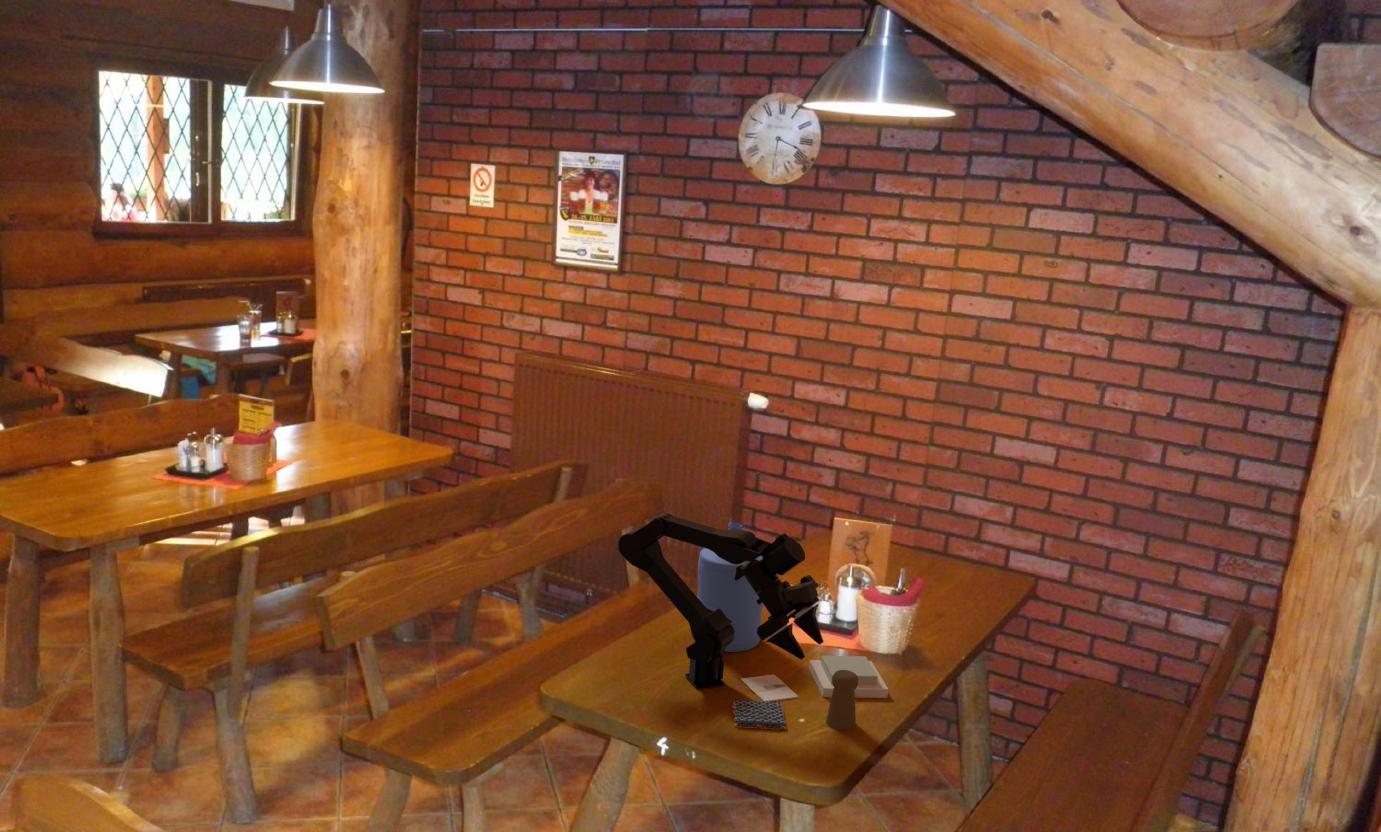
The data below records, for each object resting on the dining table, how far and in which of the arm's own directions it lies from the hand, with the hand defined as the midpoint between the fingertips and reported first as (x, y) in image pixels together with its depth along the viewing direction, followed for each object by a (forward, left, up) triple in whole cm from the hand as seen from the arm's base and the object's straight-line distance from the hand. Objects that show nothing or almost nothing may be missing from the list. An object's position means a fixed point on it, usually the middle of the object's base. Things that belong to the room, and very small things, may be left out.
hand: (812, 650), depth 237 cm
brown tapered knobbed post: (+4, -6, -14) cm, 16 cm away
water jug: (-1, +38, -14) cm, 40 cm away
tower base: (+15, +10, -13) cm, 23 cm away
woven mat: (-11, +1, -14) cm, 18 cm away
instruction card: (-3, +12, -13) cm, 18 cm away
